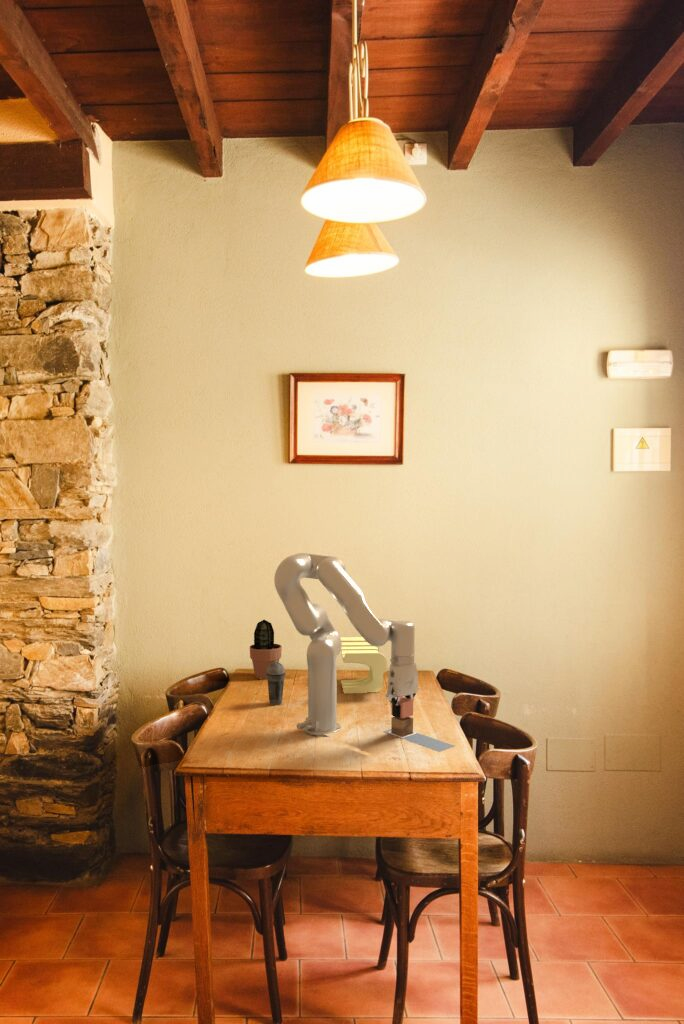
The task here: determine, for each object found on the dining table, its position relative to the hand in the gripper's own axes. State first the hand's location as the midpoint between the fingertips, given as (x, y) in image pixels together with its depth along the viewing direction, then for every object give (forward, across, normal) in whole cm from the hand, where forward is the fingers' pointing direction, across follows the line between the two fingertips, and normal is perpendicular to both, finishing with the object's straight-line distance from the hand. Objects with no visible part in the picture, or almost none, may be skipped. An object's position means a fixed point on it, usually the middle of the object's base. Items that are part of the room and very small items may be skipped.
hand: (402, 714), depth 234 cm
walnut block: (+6, 0, 0) cm, 6 cm away
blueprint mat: (+7, 0, -7) cm, 10 cm away
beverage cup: (+7, -10, +56) cm, 57 cm away
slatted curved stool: (+7, +29, +50) cm, 58 cm away
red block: (0, 0, 0) cm, 0 cm away
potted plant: (+7, +10, +90) cm, 90 cm away
